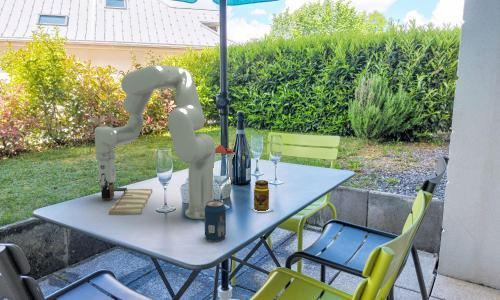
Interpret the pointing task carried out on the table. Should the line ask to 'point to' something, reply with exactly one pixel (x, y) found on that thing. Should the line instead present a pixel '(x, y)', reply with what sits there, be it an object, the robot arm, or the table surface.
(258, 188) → the condiment
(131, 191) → the wooden slatted rack
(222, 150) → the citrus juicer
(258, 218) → the table surface
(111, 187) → the marking gauge
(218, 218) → the soda can
